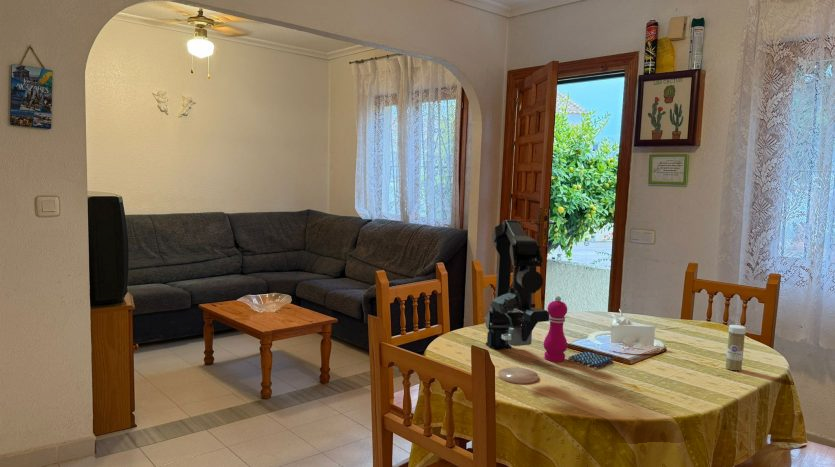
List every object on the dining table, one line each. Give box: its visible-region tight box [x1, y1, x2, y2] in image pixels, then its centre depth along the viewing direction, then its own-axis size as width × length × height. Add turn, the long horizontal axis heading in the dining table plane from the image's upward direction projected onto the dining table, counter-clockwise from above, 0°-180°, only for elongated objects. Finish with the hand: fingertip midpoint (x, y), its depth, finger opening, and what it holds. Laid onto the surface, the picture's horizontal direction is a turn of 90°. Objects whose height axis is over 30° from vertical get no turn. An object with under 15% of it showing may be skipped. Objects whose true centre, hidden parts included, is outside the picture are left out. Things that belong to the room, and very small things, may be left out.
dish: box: [587, 308, 665, 350], centre depth 204 cm, size 25×25×11 cm
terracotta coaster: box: [498, 367, 539, 385], centre depth 169 cm, size 11×11×1 cm
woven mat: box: [567, 351, 614, 370], centre depth 184 cm, size 10×11×2 cm
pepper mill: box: [543, 295, 568, 363], centre depth 185 cm, size 7×7×20 cm
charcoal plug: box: [501, 325, 533, 347], centre depth 167 cm, size 9×4×4 cm, turn 114°
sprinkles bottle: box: [725, 324, 747, 371], centre depth 180 cm, size 5×5×14 cm
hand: (520, 339), depth 167 cm, fingers closed on charcoal plug, 4 cm apart
